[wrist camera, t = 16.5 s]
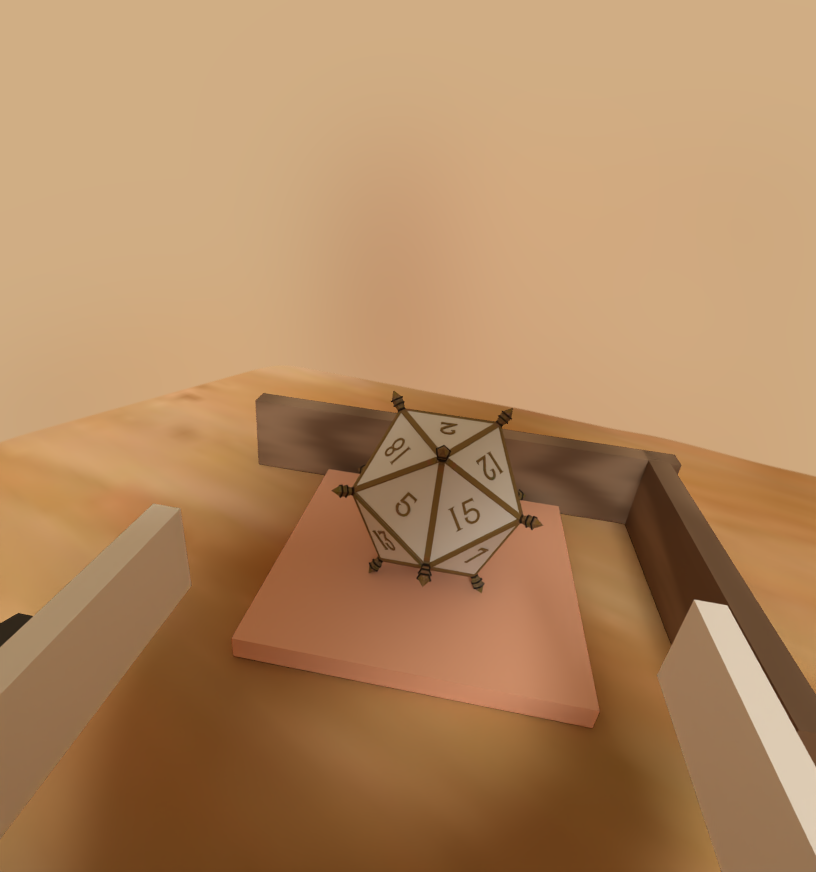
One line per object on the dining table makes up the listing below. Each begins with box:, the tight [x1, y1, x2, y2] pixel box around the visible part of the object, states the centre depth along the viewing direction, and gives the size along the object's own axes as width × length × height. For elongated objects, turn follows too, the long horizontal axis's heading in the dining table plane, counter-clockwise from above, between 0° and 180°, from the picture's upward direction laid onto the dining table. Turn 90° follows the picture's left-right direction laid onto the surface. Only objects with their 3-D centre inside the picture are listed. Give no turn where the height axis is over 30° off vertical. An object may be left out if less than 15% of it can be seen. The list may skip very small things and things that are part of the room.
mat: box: [231, 469, 600, 728], centre depth 25 cm, size 14×13×1 cm
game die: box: [331, 391, 543, 593], centre depth 22 cm, size 9×8×10 cm
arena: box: [256, 393, 816, 766], centre depth 24 cm, size 25×17×4 cm
